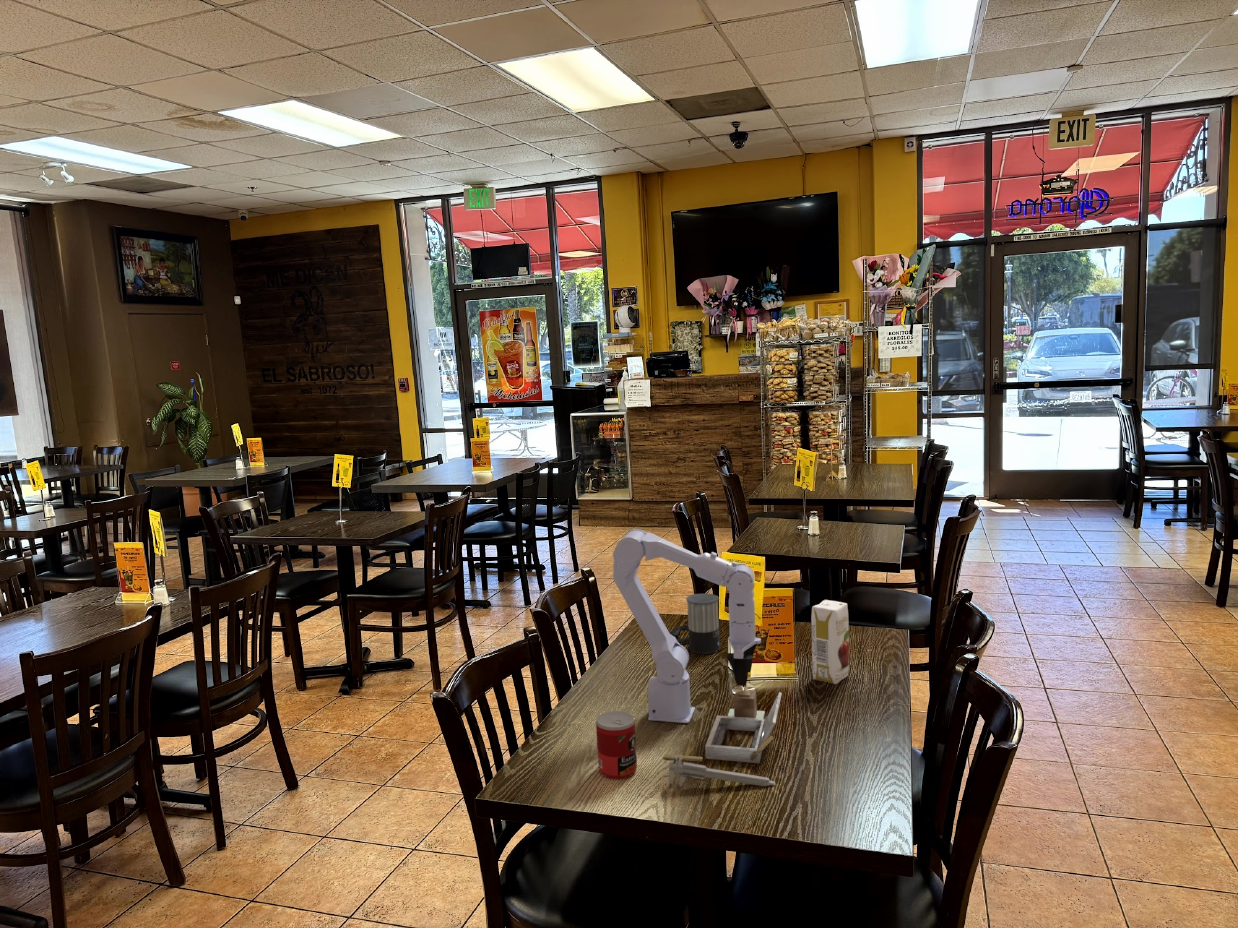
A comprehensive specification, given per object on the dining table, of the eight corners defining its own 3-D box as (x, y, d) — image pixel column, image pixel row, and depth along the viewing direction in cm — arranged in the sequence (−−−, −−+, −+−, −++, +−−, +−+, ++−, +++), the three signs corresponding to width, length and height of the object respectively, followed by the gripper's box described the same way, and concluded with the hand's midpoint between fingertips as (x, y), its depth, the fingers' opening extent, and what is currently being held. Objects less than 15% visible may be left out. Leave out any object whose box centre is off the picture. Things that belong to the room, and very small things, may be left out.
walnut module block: (734, 720, 187) (733, 695, 186) (737, 712, 191) (736, 687, 190) (754, 722, 185) (753, 697, 185) (756, 713, 190) (756, 689, 189)
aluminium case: (705, 758, 171) (705, 746, 170) (717, 726, 185) (717, 715, 185) (759, 763, 168) (759, 750, 167) (767, 730, 182) (767, 718, 182)
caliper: (669, 788, 160) (667, 758, 159) (669, 786, 161) (667, 755, 160) (775, 786, 159) (774, 755, 158) (775, 784, 160) (774, 753, 159)
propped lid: (749, 760, 167) (748, 722, 166) (758, 725, 182) (757, 690, 181) (775, 763, 166) (774, 724, 165) (782, 727, 181) (781, 691, 180)
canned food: (624, 783, 163) (622, 730, 161) (590, 774, 167) (587, 722, 165) (644, 766, 169) (642, 714, 168) (611, 757, 173) (608, 707, 172)
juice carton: (809, 679, 208) (807, 606, 206) (825, 669, 215) (823, 597, 212) (837, 686, 203) (835, 611, 201) (852, 675, 210) (851, 602, 207)
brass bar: (663, 760, 172) (663, 756, 172) (664, 758, 173) (664, 754, 173) (702, 763, 170) (702, 759, 170) (702, 760, 171) (702, 756, 170)
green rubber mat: (724, 724, 186) (724, 723, 186) (730, 709, 193) (730, 708, 193) (760, 727, 183) (760, 726, 183) (764, 712, 191) (764, 711, 191)
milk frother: (718, 655, 228) (716, 603, 226) (662, 653, 232) (660, 601, 230) (724, 637, 242) (722, 588, 240) (671, 636, 246) (669, 587, 244)
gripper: (756, 631, 177) (757, 691, 179) (763, 610, 191) (765, 666, 193) (723, 629, 179) (725, 689, 181) (733, 609, 193) (734, 665, 195)
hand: (743, 677), depth 187 cm, fingers open, 7 cm apart
